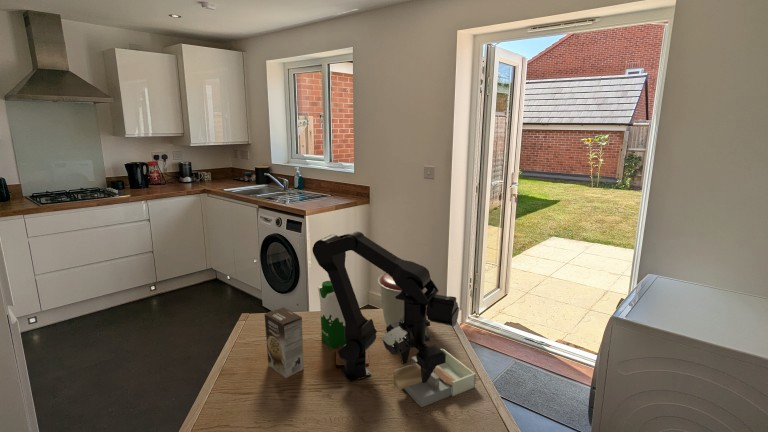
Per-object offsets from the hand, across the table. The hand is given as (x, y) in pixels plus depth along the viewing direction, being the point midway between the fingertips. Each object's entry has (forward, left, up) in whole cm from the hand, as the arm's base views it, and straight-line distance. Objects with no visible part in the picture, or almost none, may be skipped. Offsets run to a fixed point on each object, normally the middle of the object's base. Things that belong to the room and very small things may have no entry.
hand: (414, 372), depth 106 cm
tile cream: (-3, +8, -3) cm, 9 cm away
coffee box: (-26, -26, -5) cm, 37 cm away
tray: (0, +11, -5) cm, 12 cm away
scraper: (0, -1, -3) cm, 3 cm away
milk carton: (-32, -8, -5) cm, 33 cm away
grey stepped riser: (0, +2, -5) cm, 6 cm away
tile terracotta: (+3, +8, -3) cm, 9 cm away
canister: (-30, +16, -5) cm, 34 cm away
